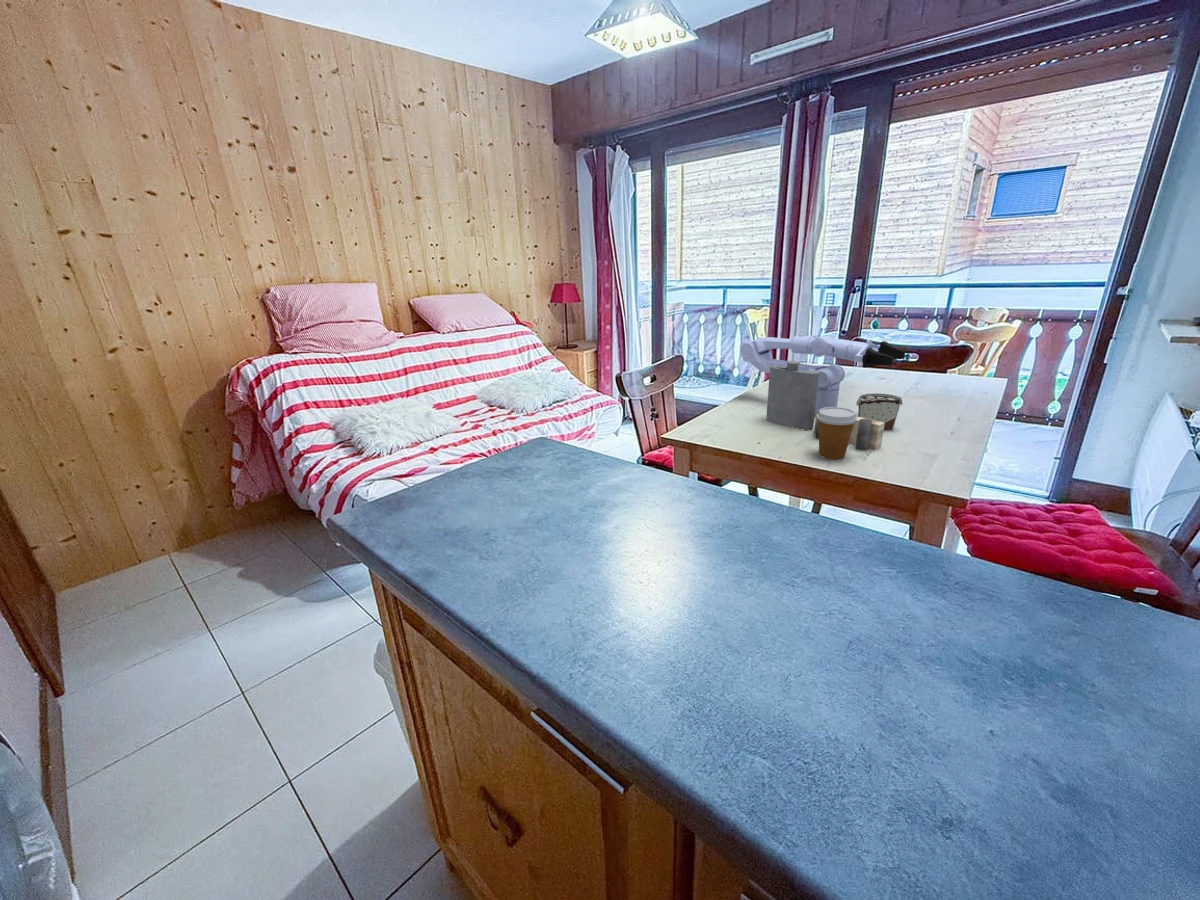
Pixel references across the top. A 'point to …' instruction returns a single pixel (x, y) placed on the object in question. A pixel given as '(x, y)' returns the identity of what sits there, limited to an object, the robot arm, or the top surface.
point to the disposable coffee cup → (835, 431)
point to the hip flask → (792, 396)
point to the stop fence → (862, 433)
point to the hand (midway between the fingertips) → (898, 358)
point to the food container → (879, 408)
